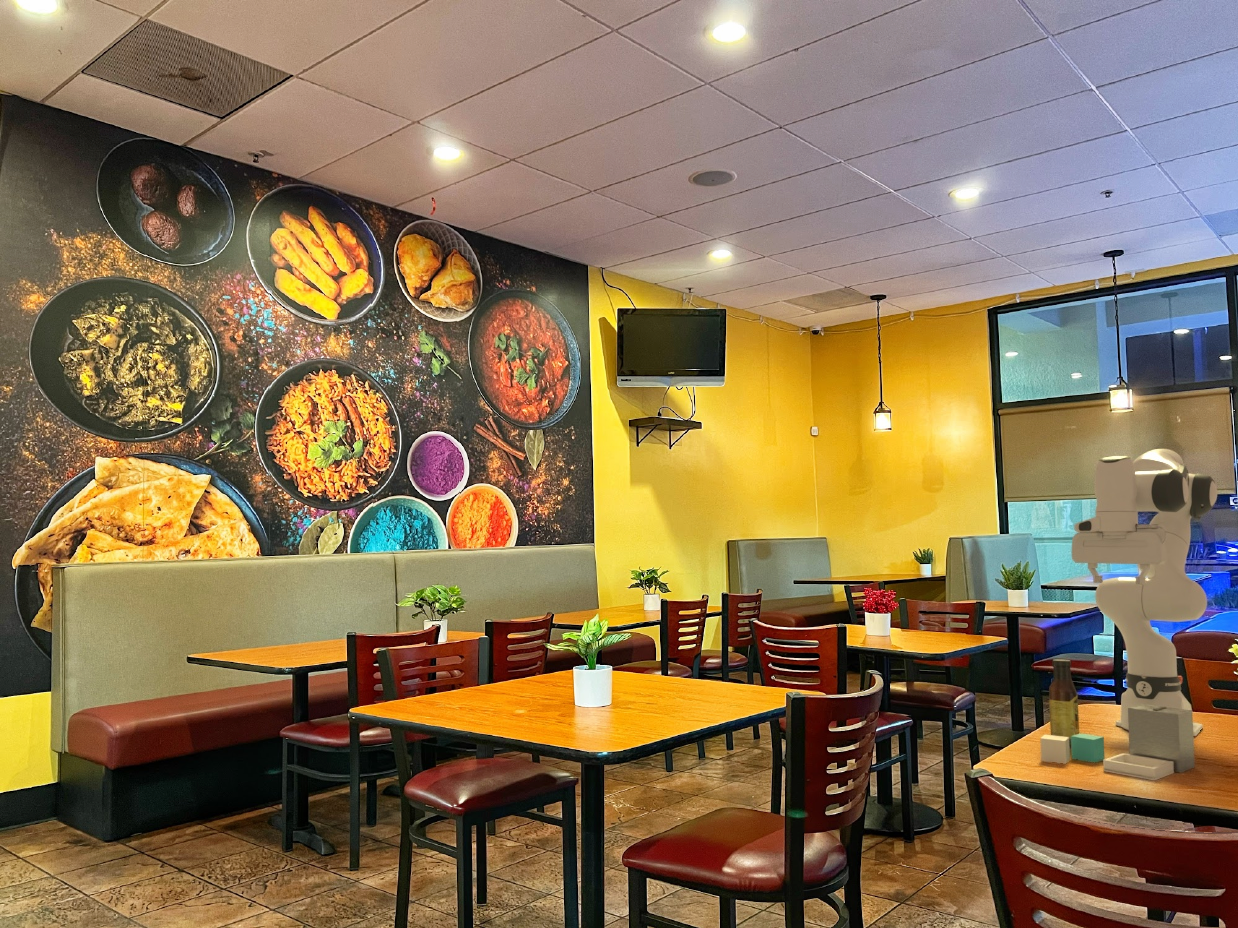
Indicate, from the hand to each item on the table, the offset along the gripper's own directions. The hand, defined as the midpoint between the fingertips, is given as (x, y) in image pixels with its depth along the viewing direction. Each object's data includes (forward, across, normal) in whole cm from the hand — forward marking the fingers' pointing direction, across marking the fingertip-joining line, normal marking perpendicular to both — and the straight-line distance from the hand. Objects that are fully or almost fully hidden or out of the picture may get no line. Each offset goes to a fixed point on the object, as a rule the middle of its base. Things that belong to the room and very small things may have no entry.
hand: (1118, 583), depth 219 cm
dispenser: (+38, -11, +8) cm, 41 cm away
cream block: (+39, +6, +21) cm, 44 cm away
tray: (+38, -10, +18) cm, 44 cm away
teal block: (+39, +2, +14) cm, 41 cm away
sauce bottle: (+39, +12, +3) cm, 41 cm away
